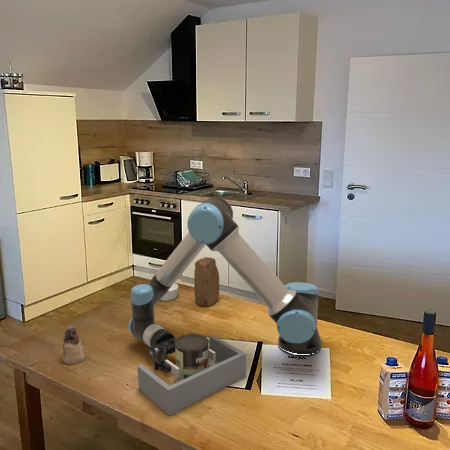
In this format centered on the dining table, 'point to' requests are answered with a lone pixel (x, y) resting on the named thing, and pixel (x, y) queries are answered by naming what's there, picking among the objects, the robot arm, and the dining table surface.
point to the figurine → (72, 347)
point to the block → (206, 281)
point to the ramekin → (171, 293)
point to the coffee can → (191, 354)
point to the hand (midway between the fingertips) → (197, 364)
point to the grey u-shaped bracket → (195, 379)
